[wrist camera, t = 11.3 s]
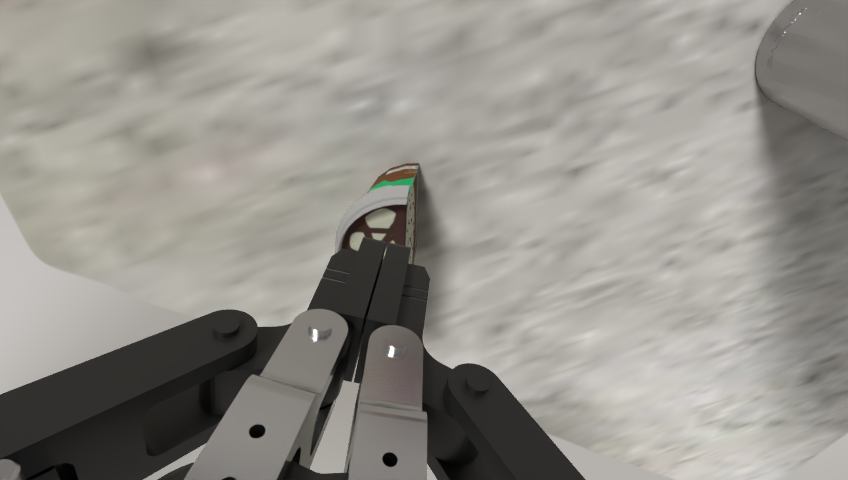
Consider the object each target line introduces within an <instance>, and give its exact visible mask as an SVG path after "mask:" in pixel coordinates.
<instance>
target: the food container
mask: <svg viewBox="0 0 848 480" xmlns="http://www.w3.org/2000/svg"><path fill="white" fill-rule="evenodd" d="M418 180H419V163H414V164H404V165H400V166H397V167H393V168H391V169H389V170H388V171H386V172H385V173H383V174H382V175H380V176H379V177H378V179H377V180H376V181H375V183H374V184H373V186H372V187H371V188H370V190H369V191H368V193H367V195H365V196H363V197H362V198H360V199H359V200H357V201H356V202H355V203H354V204H353V205H352V206H351V207H350V208H349V209H348V210H347V211H346V213H345V214H344V216H343V217H342V219H341V221H340V224H339V226H338V230H337V234H336V244H335V254H336V253H337V252H339V251H340V250H341V249H347V250H352V251H356V252H358V250H359V247H360V244H361V242H362V239H363V237H368V238H372V239H376V240H381V241H385V242H387V243H386V249H387V246H388V243H389V242H390V243H394V244H398V245H403V246H407V247H411V252H410V257H409V261H408V263H409V264H413V265H414V261H415V255H416V249H417V215H418ZM386 249H385V253H386ZM385 253H384V256H385ZM383 260H384V258H383Z"/></svg>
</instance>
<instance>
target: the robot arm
mask: <svg viewBox="0 0 848 480" xmlns="http://www.w3.org/2000/svg"><path fill="white" fill-rule="evenodd" d="M756 76H757V80H758V84H759V86H760V88H761V89H762V91H763V93H764V94H765V95H766V96H767V97H768V98H769V99H770V100H772V101H773V102H775V103H777V104H779V105H781V106H783V107H785V108H787V109H788V110H790V111H792V112H794V113H796V114H798V115H800V116H802V117H803V118H805V119H807V120H809V121H811V122H813V123H815V124H817V125H818V126H820V127H822V128H824V129H826V130H828V131H830V132H832V133H834V134H836V135H838V136H840V137H842V138H844V139H846V140H848V0H795V1H793V2H792V3H791V4H790V5H788V6H787V7H786V8H785V9H784V10H783V11H782V12H781V13H780V14H779V16H778V17H777V18H776V19H775V20H774V21H773V23H772V24H771V26H770V27H769V29H768V30H767V32H766V33H765V35H764V38H763V40H762V42H761V44H760V46H759V50H758V54H757V58H756ZM386 243H387V242H385V241H381V240H376V239H372V238H368V237H363V239H362V242H361V244H360V247H359V250H358V252H356V251H352V250H347V249H341V250H340V251H339V252H337V253H336V254H334V255H333V256H332V257H331V259H330V261H329V263H328V266H327V268H326V270H325V272H324V274H323V277H322V279H321V281H320V283H319V285H318V288H317V290H316V292H315V294H314V296H313V298H312V301H311V303H310V305H309V307H308V309H307V311H305V312H303V313H301V314H299V315H298V316H297V317H296V318H295V319H294V321H293V322H292V323H291V324H288V325H284V326H277V327H257V323H256V321H255V320H254V318H253V317H252V316H250V315H249V314H247V313H245V312H242V311H239V310H220V311H216V312H212V313H210V314H207V315H205V316H202V317H199V318H197V319H194V320H192V321H189V322H187V323H184V324H181V325H179V326H176V327H174V328H171V329H168V330H166V331H163V332H161V333H158V334H156V335H153V336H150V337H148V338H145V339H143V340H140V341H137V342H135V343H132V344H130V345H127V346H125V347H122V348H120V349H117V350H114V351H112V352H109V353H106V354H104V355H101V356H99V357H96V358H94V359H91V360H88V361H86V362H84V363H81V364H78V365H75V366H73V367H70V368H68V369H65V370H63V371H60V372H57V373H55V374H53V375H50V376H47V377H45V378H42V379H39V380H37V381H34V382H32V383H29V384H26V385H24V386H21V387H19V388H16V389H14V390H11V391H8V392H6V393H3V394H1V395H0V480H143V479H144V478H146V477H148V476H149V475H151V474H153V473H154V472H157V471H158V470H160V469H162V468H164V467H165V466H167V465H169V464H171V463H172V462H174V461H176V460H177V459H179V458H181V457H183V456H184V455H186V454H188V453H190V452H191V451H193V450H195V449H197V448H198V447H200V446H202V445H203V444H205V443H206V445H205V447H204V448H203V450H202V451H201V453H200V454H199V456H198V458H197V459H196V461H195V462H194V463H191V464H188V465H185V466H183V467H180V468H178V469H176V470H174V471H172V472H170V473H168V474H166V475H164V476H163V477H161V478H160V479H158V480H427V464H428V465H429V467H430V468H431V470H432V472H433V473H434V475H435V476H436V478H437V480H585V479H584V478H583V476H582V475H581V474H580V473H579V472H578V471H577V469H576V468H575V467H574V466H573V465H572V463H571V462H570V461H569V460H568V459H567V458H566V457H565V455H564V454H563V453H562V452H561V451H560V450H559V448H558V447H557V446H556V445H555V444H554V443H553V441H552V440H551V439H550V438H549V437H548V435H547V434H546V433H545V432H544V431H543V430H542V428H541V427H540V426H539V425H538V424H537V423H536V421H535V420H534V419H533V418H532V417H531V416H530V414H529V413H528V412H527V411H526V410H525V409H524V407H523V406H522V405H521V404H520V403H519V402H518V400H517V399H516V398H515V397H514V396H513V395H512V393H511V392H510V391H509V390H508V389H507V388H506V386H505V385H504V384H503V383H502V382H501V381H500V379H499V378H498V377H497V376H496V375H495V374H494V373H493V372H492V371H490V370H489V369H487V368H485V367H483V366H480V365H477V364H469V363H467V364H461V365H458V366H456V367H455V368H454V369H451V368H449V367H447V366H445V365H443V364H441V363H440V362H438V361H436V360H435V359H434V358H433V357H432V356H431V355H430V354H429V353H428V352H427V351H426V349H425V347H424V345H423V341H422V335H423V327H424V320H425V312H426V304H427V297H428V289H429V281H430V278H429V276H428V274H427V272H426V269H425V267H422V266H417V265H413V264H409V263H408V261H409V257H410V252H411V247H407V246H403V245H398V244H394V243H390V242H389V243H388V246H387V249H386ZM385 249H386V253H385ZM384 253H385V256H384ZM383 258H384V260H383ZM359 353H360V354H359ZM358 356H359V359H358ZM357 360H358V364H357V369H356V374H355V379H354V382H356V383H360V385H359V390H358V394H357V400H356V404H355V408H354V414H353V420H352V426H351V432H350V438H349V444H348V451H347V456H346V463H345V469H344V473H332V474H320V473H316V472H314V471H312V470H310V466H311V464H312V461H313V458H314V456H315V453H316V451H317V448H318V446H319V443H320V441H321V438H322V436H323V433H324V431H325V428H326V426H327V423H328V421H329V418H330V416H331V413H332V411H333V408H334V406H335V402H336V398H337V397H338V395H339V392H340V389H341V386H342V383H343V380H345V381H352V378H353V374H354V371H355V367H356V363H357Z"/></svg>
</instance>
